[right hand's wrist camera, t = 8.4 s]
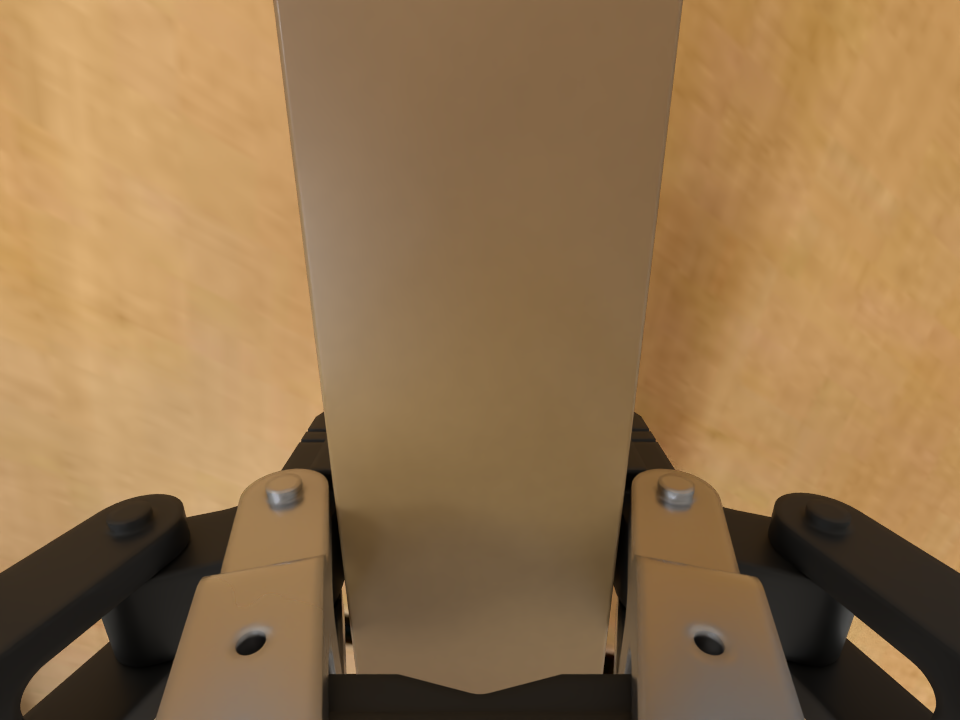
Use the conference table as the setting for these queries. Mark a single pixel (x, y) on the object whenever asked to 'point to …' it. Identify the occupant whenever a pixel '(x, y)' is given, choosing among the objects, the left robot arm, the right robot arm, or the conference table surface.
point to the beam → (478, 311)
